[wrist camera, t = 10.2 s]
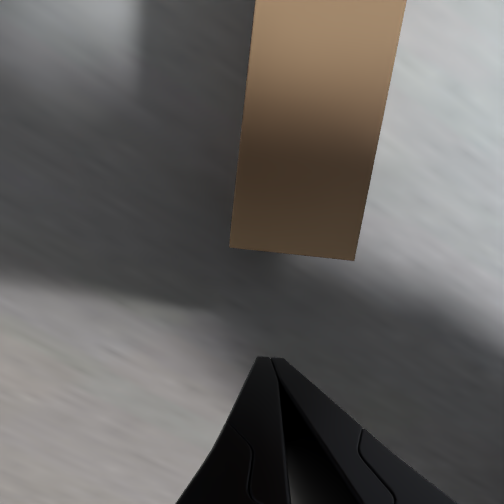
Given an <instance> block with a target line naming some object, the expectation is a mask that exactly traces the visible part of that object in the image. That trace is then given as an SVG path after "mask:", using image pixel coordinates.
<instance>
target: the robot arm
mask: <svg viewBox="0 0 504 504" xmlns="http://www.w3.org/2000/svg"><path fill="white" fill-rule="evenodd" d="M176 504H458V503H457V502H455V501H454V500H453V499H451V498H450V497H449V496H447V495H446V494H445V493H443V492H442V491H441V490H439V489H438V488H437V487H436V486H434V485H433V484H432V483H430V482H429V481H428V480H426V479H425V478H424V477H422V476H421V475H420V474H418V473H417V472H416V471H415V470H413V469H412V468H411V467H410V466H408V465H407V464H406V463H404V462H403V461H402V460H401V459H399V458H398V457H397V456H396V455H394V454H393V453H392V452H391V451H390V450H388V449H387V448H386V447H385V446H384V445H382V444H381V443H380V442H379V441H378V440H376V439H375V438H374V437H373V436H372V435H371V434H370V433H368V432H367V431H366V430H365V429H363V430H362V426H360V425H359V424H358V423H357V422H356V421H355V420H354V419H352V418H351V417H350V416H349V415H348V414H347V413H346V412H344V411H343V410H342V409H341V408H340V407H339V406H338V405H336V404H335V403H334V402H333V401H332V400H331V399H330V398H328V397H327V396H326V395H325V394H324V393H323V392H322V391H320V390H319V389H318V388H317V387H316V386H315V385H314V384H312V383H311V382H310V381H309V380H308V379H307V378H306V377H304V376H303V375H302V374H301V373H300V372H299V371H298V370H296V369H295V368H294V367H293V366H292V365H291V364H290V363H289V362H287V361H286V360H285V359H284V358H275V357H272V358H271V359H270V358H269V357H260V356H258V357H257V358H256V360H255V362H254V364H253V366H252V368H251V370H250V372H249V374H248V377H247V379H246V381H245V383H244V385H243V387H242V389H241V391H240V393H239V395H238V398H237V400H236V402H235V404H234V406H233V408H232V410H231V412H230V414H229V416H228V419H227V421H226V423H225V424H224V426H223V429H222V431H221V433H220V435H219V437H218V438H217V440H216V442H215V444H214V446H213V448H212V450H211V451H210V453H209V454H208V456H207V458H206V459H205V461H204V462H203V464H202V466H201V467H200V469H199V470H198V471H197V473H196V474H195V476H194V477H193V479H192V480H191V482H190V483H189V485H188V486H187V488H186V489H185V490H184V492H183V493H182V495H181V496H180V498H179V499H178V501H177V502H176Z"/></svg>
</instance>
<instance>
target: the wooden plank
mask: <svg viewBox="0 0 504 504" xmlns="http://www.w3.org/2000/svg"><path fill="white" fill-rule="evenodd" d="M406 1H407V0H255V6H254V15H253V24H252V34H251V43H250V52H249V62H248V71H247V80H246V90H245V99H244V108H243V118H242V127H241V136H240V146H239V155H238V164H237V174H236V183H235V192H234V202H233V211H232V220H231V231H230V245H229V248H239V249H248V250H257V251H267V252H276V253H285V254H295V255H304V256H313V257H323V258H332V259H341V260H351V261H354V259H355V254H356V249H357V244H358V239H359V234H360V229H361V224H362V219H363V214H364V209H365V204H366V199H367V195H368V190H369V185H370V180H371V175H372V170H373V165H374V160H375V155H376V150H377V145H378V140H379V135H380V130H381V125H382V120H383V115H384V110H385V105H386V100H387V95H388V90H389V85H390V80H391V75H392V70H393V65H394V60H395V56H396V51H397V46H398V41H399V36H400V31H401V26H402V21H403V16H404V11H405V6H406Z"/></svg>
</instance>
